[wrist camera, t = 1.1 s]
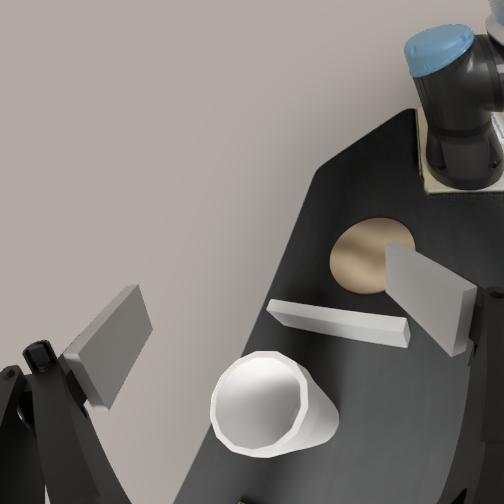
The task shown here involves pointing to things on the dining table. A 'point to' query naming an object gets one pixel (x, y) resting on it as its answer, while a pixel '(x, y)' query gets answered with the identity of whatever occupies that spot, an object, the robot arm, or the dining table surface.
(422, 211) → the dining table surface
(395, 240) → the cork coaster
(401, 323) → the low wall
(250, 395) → the foam cup
